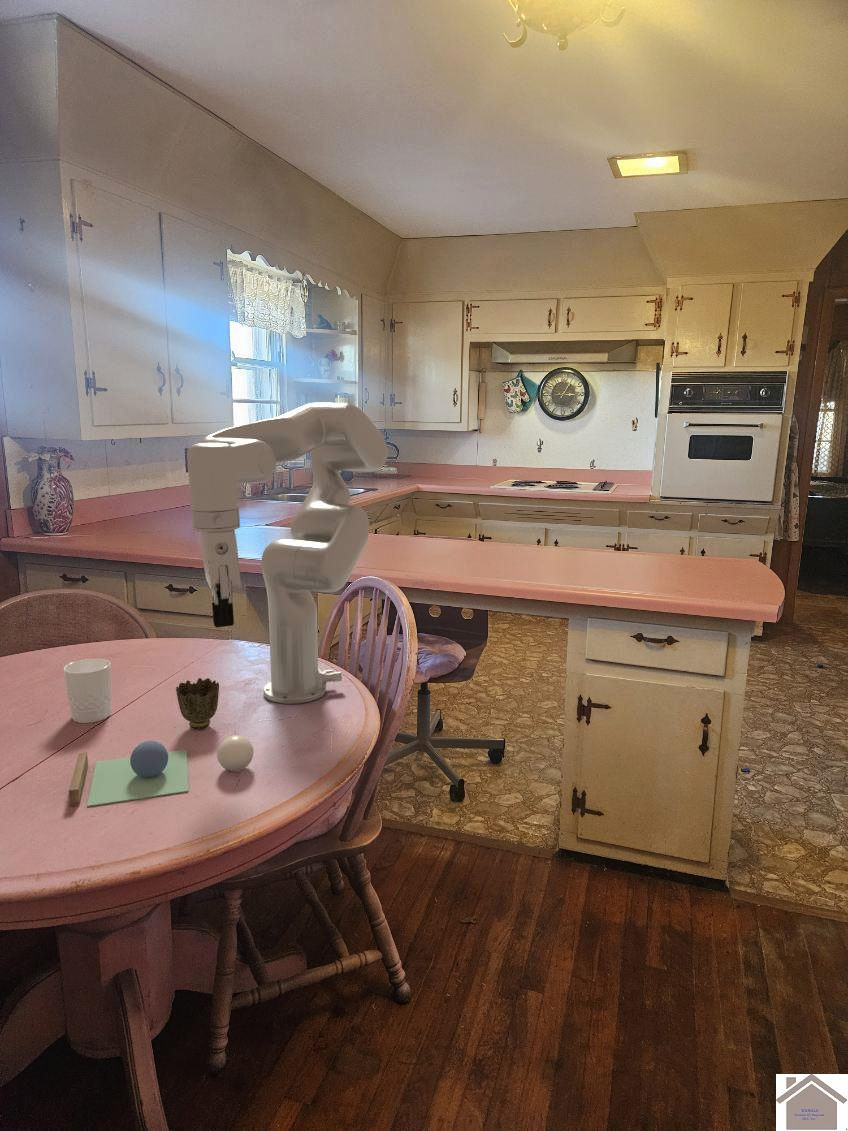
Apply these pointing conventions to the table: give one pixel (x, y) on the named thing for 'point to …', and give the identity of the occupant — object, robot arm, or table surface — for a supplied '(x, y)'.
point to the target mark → (136, 780)
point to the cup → (198, 702)
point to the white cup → (89, 689)
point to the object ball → (149, 759)
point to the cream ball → (235, 753)
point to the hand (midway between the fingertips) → (223, 624)
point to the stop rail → (78, 779)
